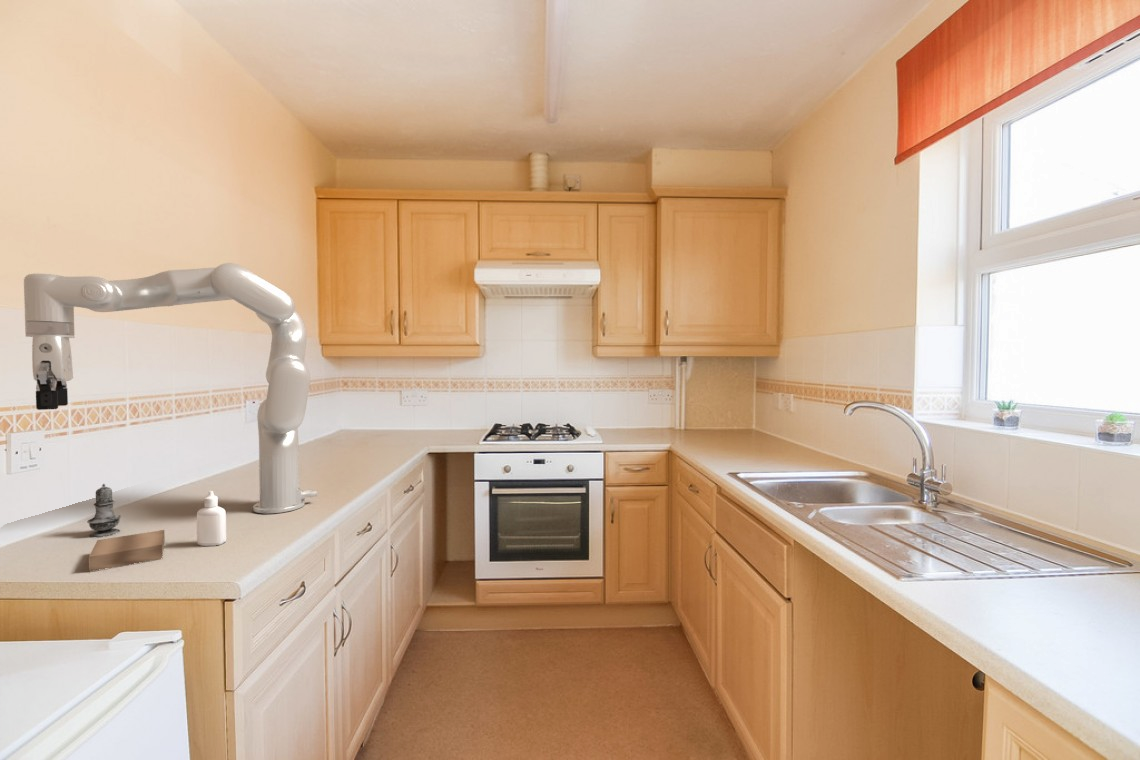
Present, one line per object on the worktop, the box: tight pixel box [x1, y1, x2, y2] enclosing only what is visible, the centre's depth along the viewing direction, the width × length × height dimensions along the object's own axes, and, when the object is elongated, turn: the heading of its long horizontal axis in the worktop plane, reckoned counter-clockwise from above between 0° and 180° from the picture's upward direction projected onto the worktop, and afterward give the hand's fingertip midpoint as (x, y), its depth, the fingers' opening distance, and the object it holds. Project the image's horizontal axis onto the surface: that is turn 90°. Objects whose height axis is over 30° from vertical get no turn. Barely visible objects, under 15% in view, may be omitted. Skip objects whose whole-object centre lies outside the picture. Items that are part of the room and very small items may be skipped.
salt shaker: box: [87, 483, 122, 538], centre depth 116 cm, size 6×6×12 cm
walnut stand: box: [88, 529, 166, 573], centre depth 103 cm, size 11×11×3 cm
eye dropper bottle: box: [196, 490, 227, 547], centre depth 111 cm, size 4×6×12 cm
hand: (52, 407), depth 110 cm, fingers open, 9 cm apart
